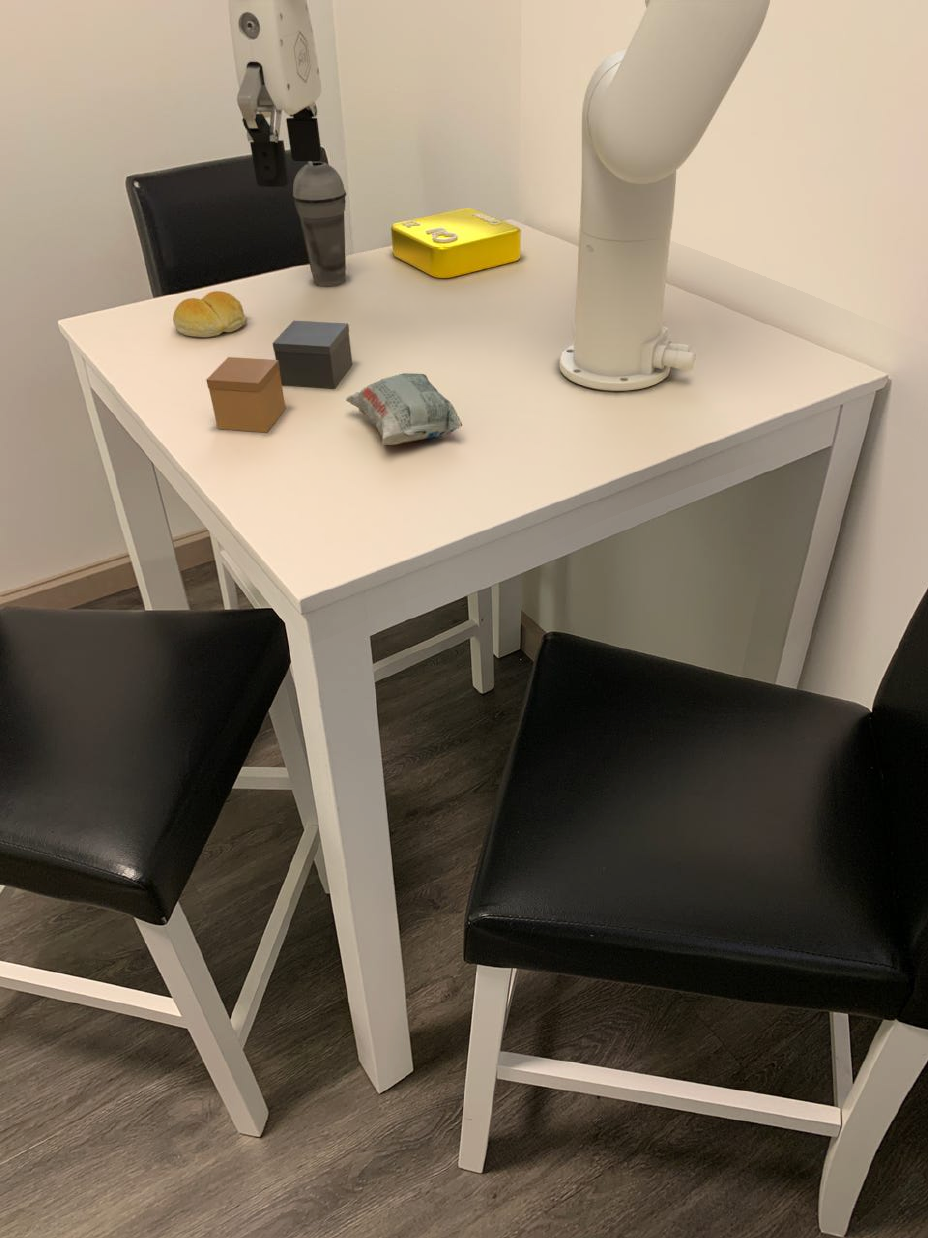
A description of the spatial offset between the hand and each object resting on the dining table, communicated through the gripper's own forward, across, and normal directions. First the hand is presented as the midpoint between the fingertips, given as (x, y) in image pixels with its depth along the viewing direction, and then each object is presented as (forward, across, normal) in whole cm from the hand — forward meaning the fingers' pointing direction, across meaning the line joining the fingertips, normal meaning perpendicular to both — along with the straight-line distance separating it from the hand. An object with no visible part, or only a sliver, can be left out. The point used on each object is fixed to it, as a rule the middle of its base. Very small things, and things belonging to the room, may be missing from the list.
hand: (291, 172), depth 95 cm
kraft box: (+22, -12, +4) cm, 25 cm away
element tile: (+22, +42, -7) cm, 48 cm away
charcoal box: (+22, 0, 0) cm, 22 cm away
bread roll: (+22, +12, +19) cm, 31 cm away
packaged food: (+22, -12, -13) cm, 28 cm away
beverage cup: (+22, +30, +9) cm, 38 cm away
